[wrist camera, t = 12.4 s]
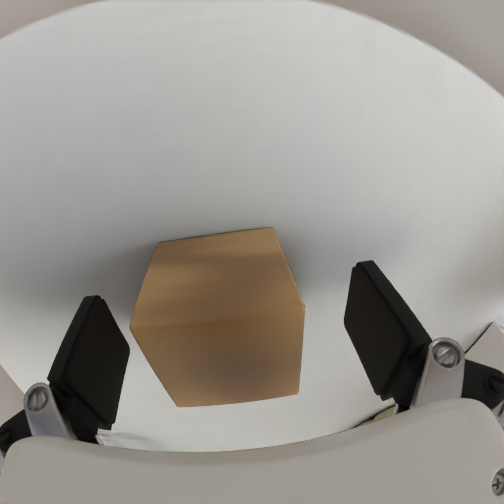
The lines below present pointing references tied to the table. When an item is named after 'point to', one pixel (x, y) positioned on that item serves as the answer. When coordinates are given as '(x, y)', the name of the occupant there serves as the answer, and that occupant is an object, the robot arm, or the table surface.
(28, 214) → the table surface
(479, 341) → the milk carton
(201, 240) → the block
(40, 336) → the table surface
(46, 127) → the table surface
